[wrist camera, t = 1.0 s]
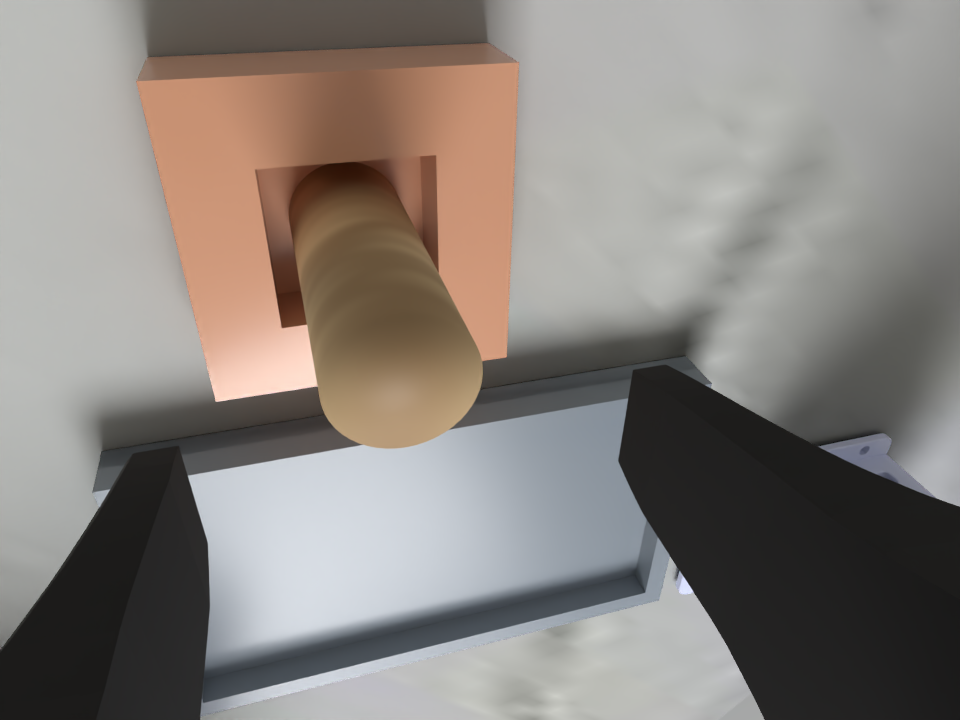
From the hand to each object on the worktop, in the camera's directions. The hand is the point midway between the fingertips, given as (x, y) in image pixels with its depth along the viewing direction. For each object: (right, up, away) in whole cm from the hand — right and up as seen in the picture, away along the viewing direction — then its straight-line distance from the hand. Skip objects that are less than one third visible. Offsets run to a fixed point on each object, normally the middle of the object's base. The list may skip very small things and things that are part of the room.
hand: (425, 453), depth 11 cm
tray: (-1, -5, +16) cm, 17 cm away
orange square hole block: (-3, +6, +8) cm, 10 cm away
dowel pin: (-3, +5, +8) cm, 10 cm away
